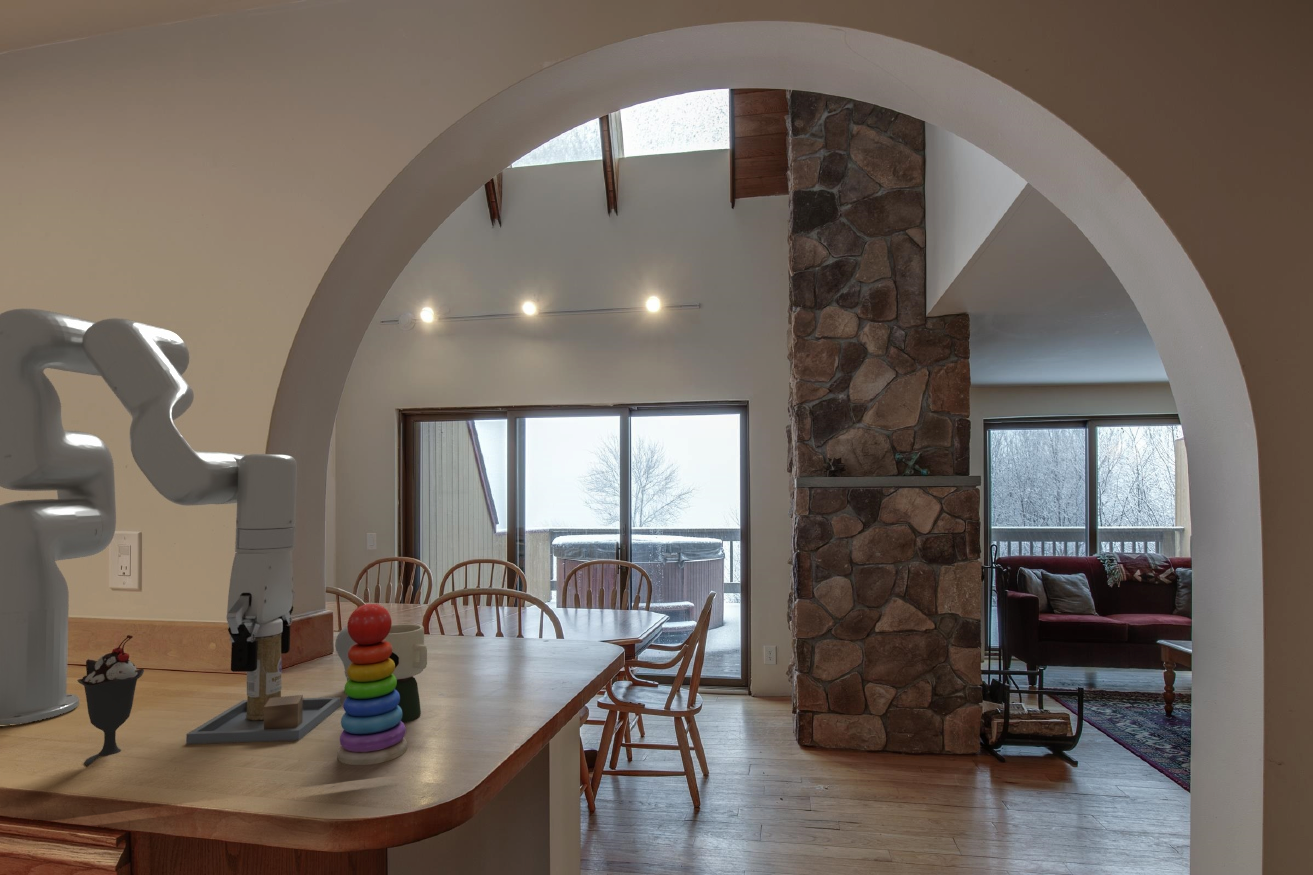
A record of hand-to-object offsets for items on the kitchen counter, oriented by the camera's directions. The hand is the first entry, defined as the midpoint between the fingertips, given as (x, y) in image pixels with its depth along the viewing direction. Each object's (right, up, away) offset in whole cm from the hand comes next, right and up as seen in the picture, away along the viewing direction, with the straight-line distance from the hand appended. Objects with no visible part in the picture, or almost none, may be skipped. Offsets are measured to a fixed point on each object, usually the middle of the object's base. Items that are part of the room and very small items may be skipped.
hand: (261, 661), depth 103 cm
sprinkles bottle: (+1, -8, 0) cm, 8 cm away
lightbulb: (+8, -9, +13) cm, 18 cm away
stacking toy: (+21, -8, -15) cm, 27 cm away
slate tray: (+3, -8, -3) cm, 9 cm away
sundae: (-12, -8, -13) cm, 19 cm away
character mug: (+20, -8, -2) cm, 21 cm away
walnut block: (+7, -7, -7) cm, 12 cm away
